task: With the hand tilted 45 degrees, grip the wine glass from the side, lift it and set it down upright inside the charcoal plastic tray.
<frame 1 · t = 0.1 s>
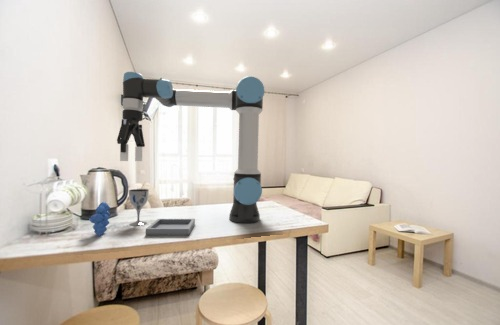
hand: (131, 161, 95), 28 cm above the breakfast bar, tool pointing down, fingers open, 13 cm apart
tray: (172, 229, 94), on the breakfast bar
wine glass: (138, 224, 101), on the breakfast bar
grapes: (98, 234, 86), on the breakfast bar
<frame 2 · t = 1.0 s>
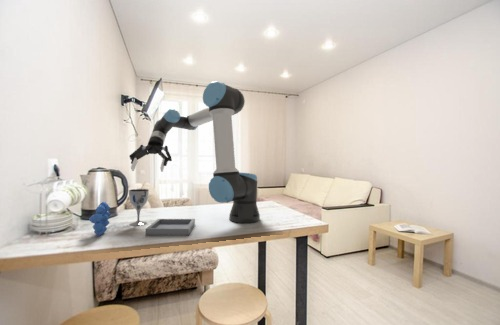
hand: (147, 169, 110), 24 cm above the breakfast bar, tool tilted 45°, fingers open, 13 cm apart
nothing on the breakfast bar moved.
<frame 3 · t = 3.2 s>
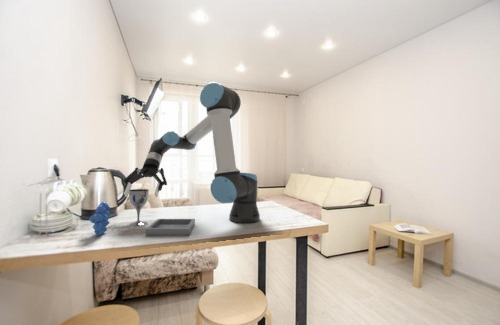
hand: (140, 195, 106), 12 cm above the breakfast bar, tool tilted 45°, fingers open, 13 cm apart
nothing on the breakfast bar moved.
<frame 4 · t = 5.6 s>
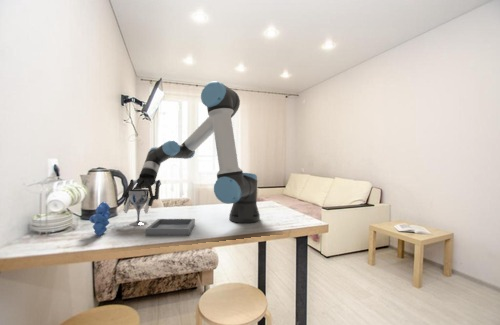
hand: (135, 211, 98), 6 cm above the breakfast bar, tool tilted 45°, fingers closed on wine glass, 8 cm apart
wine glass: (138, 224, 101), on the breakfast bar, touching gripper
everything else where it was.
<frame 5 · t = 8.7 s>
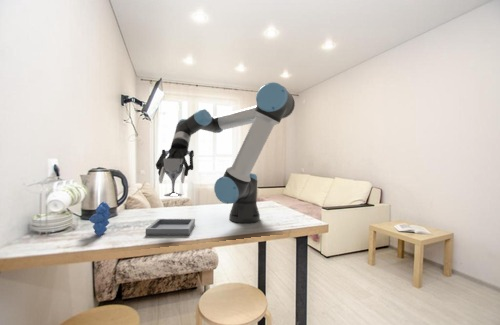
hand: (171, 181, 90), 20 cm above the breakfast bar, tool tilted 45°, fingers closed on wine glass, 8 cm apart
wine glass: (173, 195, 93), point 14 cm above the breakfast bar, touching gripper
everything else where it was.
when the fingers open (9 cm above the breakfast bar, at t = 11.8 s): wine glass drops 2 cm, resting on tray.
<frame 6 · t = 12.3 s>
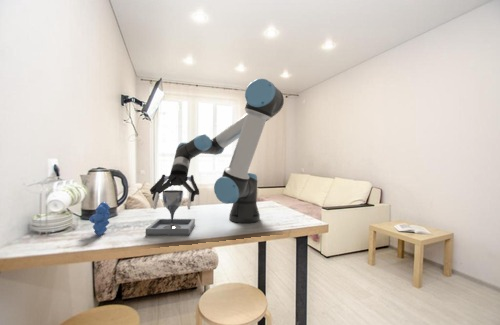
hand: (171, 207, 91), 10 cm above the breakfast bar, tool tilted 45°, fingers open, 13 cm apart
wine glass: (171, 228, 94), point 1 cm above the breakfast bar, touching tray
everything else where it was.
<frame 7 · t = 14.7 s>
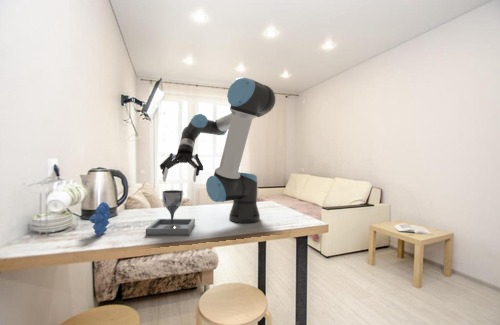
hand: (179, 180, 104), 20 cm above the breakfast bar, tool tilted 45°, fingers open, 13 cm apart
nothing on the breakfast bar moved.
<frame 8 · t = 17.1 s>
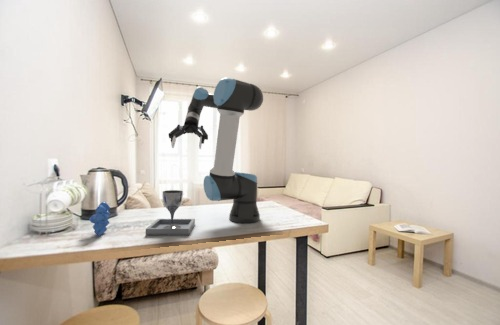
hand: (186, 146, 114), 36 cm above the breakfast bar, tool tilted 45°, fingers open, 13 cm apart
nothing on the breakfast bar moved.
at the end: wine glass inside the target area on the tray (0.2 cm from its centre), point 0.6 cm above the tray's base; wine glass tilted 0°; the gripper is holding nothing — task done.
